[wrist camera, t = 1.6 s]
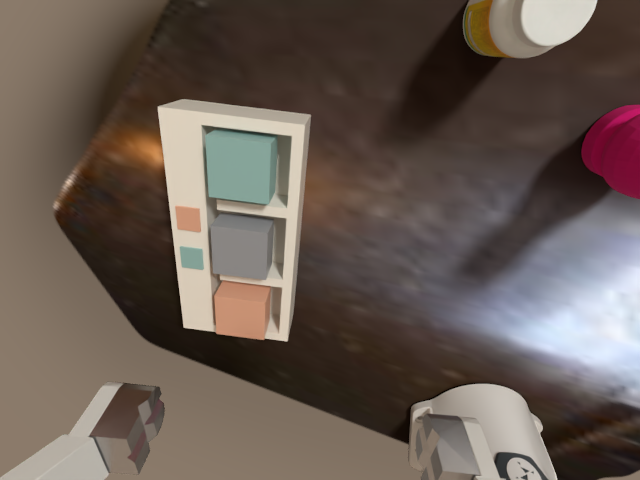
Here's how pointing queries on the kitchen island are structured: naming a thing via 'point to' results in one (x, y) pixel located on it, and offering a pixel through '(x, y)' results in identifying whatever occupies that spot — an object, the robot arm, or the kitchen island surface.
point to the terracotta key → (242, 309)
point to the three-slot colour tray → (231, 205)
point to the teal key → (241, 165)
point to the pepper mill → (616, 149)
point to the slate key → (242, 245)
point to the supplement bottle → (523, 25)
